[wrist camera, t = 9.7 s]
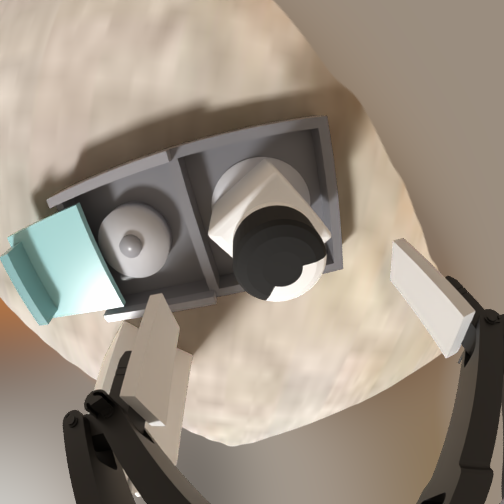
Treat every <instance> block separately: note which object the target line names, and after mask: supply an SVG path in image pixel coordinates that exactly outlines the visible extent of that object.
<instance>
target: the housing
mask: <svg viewBox="0 0 504 504" xmlns="http://www.w3.org/2000/svg"><path fill="white" fill-rule="evenodd" d="M263 159H268V160H269V161H270V162H271V163H272V164H273V165H274V166H275V167H276V168H277V169H278V170H279V172H280V173H281V174H282V175H283V176H284V177H285V178H286V179H287V180H288V181H289V183H290V184H291V185H292V186H293V187H294V188H295V189H296V191H297V192H298V193H299V194H300V195H301V196H302V197H303V199H304V200H305V201H306V202H307V203H308V204H309V206H310V207H311V208H312V209H313V211H314V212H315V213H316V214H317V216H318V217H319V218H320V219H321V221H322V222H323V223H324V225H325V226H326V227H327V228H328V230H329V231H330V232H331V238H330V239H329V240H328V241H326V242H325V243H324V244H325V248H326V254H327V259H326V266H325V269H324V271H323V273H322V274H324V273H329V272H333V271H337V270H341V269H343V256H342V238H341V223H340V211H339V200H338V190H337V181H336V173H335V165H334V157H333V150H332V143H331V137H330V131H329V125H328V119H327V116H308V117H301V118H294V119H288V120H282V121H276V122H270V123H265V124H260V125H255V126H250V127H245V128H241V129H236V130H232V131H227V132H223V133H219V134H215V135H211V136H207V137H204V138H200V139H196V140H193V141H189V142H186V143H182V144H179V145H176V146H172V147H169V148H166V149H163V150H160V151H157V152H154V153H151V154H148V155H145V156H142V157H139V158H137V159H134V160H131V161H128V162H126V163H123V164H120V165H118V166H115V167H113V168H110V169H108V170H105V171H103V172H100V173H98V174H96V175H93V176H91V177H89V178H86V179H84V180H82V181H80V182H78V183H75V184H73V185H71V186H69V187H67V188H65V189H64V190H62V191H60V192H58V193H57V194H55V195H53V196H52V197H50V198H48V199H47V203H48V206H49V208H52V207H54V206H56V207H57V210H58V212H59V211H61V210H63V209H65V208H68V207H70V206H72V205H75V204H77V203H79V202H80V205H81V207H82V210H83V212H84V215H85V217H86V220H87V222H88V225H89V227H90V229H91V232H92V234H93V236H94V239H95V241H96V243H97V245H98V248H99V250H100V252H101V254H102V256H103V258H104V261H105V263H106V265H107V267H108V269H109V271H110V273H111V275H112V277H113V279H114V281H115V283H116V285H117V286H118V288H119V290H120V292H121V294H122V296H123V298H124V299H125V301H126V303H125V305H124V307H118V308H112V309H107V310H106V312H105V314H104V317H105V319H106V321H107V322H113V321H120V320H126V319H133V318H139V317H143V314H144V311H145V309H146V306H147V303H148V300H149V297H150V295H154V294H160V293H162V294H163V296H164V298H165V300H166V302H167V304H168V306H169V308H170V310H171V312H176V311H181V310H187V309H193V308H198V307H203V306H209V305H214V304H216V303H217V297H220V296H225V295H230V294H235V293H239V292H244V291H245V290H244V289H243V288H242V287H241V286H240V285H239V283H238V281H237V280H236V277H235V275H234V271H233V258H232V257H231V256H230V255H229V254H228V253H227V252H226V251H224V250H223V249H222V248H221V247H220V246H219V245H218V244H217V243H215V242H214V241H213V240H212V239H211V238H210V237H209V235H208V231H209V225H210V220H211V215H212V210H213V206H214V204H215V203H216V202H217V201H218V200H219V199H220V198H221V197H223V196H224V195H225V194H226V193H227V192H228V191H229V190H230V189H231V188H232V187H233V186H234V185H235V184H236V183H238V182H239V181H240V180H241V179H242V178H243V177H244V176H245V175H246V174H247V173H248V172H250V171H251V170H252V169H253V168H254V167H255V166H256V165H257V164H259V163H260V162H261V161H262V160H263Z"/></svg>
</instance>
